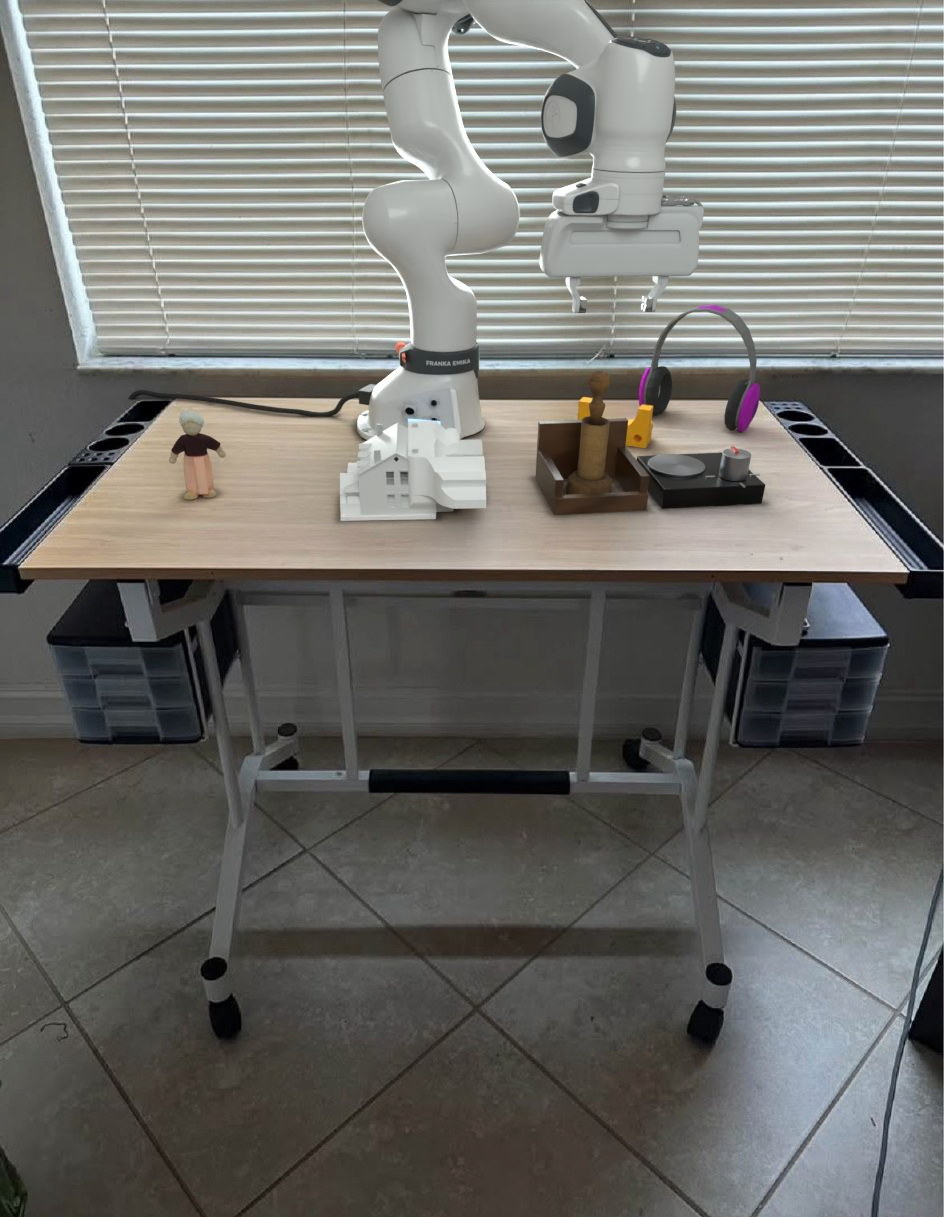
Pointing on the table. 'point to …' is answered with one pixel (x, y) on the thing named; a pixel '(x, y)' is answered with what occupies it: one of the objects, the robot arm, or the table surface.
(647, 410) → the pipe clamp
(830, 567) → the table surface
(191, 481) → the grandmother figurine
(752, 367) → the headphones
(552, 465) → the spice rack
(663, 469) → the burner
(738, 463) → the hob knob
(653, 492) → the hob
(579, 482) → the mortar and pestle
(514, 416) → the table surface
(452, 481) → the house model
